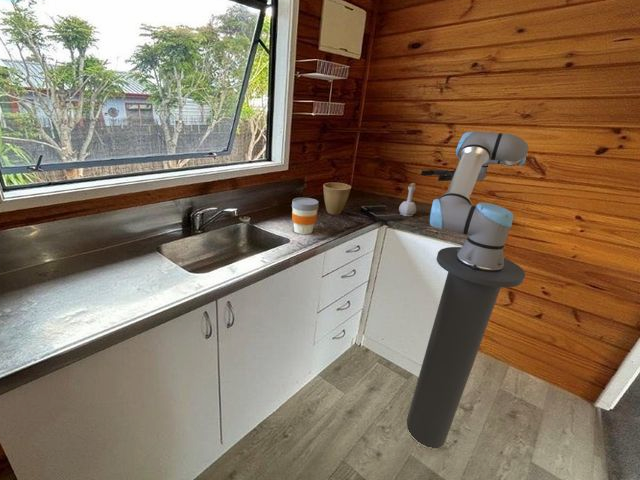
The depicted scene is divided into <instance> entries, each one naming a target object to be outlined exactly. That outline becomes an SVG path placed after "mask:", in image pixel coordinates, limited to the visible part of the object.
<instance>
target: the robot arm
mask: <svg viewBox="0 0 640 480" xmlns="http://www.w3.org/2000/svg"><path fill="white" fill-rule="evenodd" d="M528 152H529V145H528V142H526V140H524V139H523V138H521V137H520V136H517V135H515V134H511V133H506V132H500V133H499V132H488V131H467V132H465V133H463V135H462V136H461V137H460V139H459V141H458V144H457V147H456V150H455V155H456V157H457V158H458V160H459V161H458V164H457V166H456V168H455V169H454V170H449V169H445V170H443V169H429V170H428V169H427V170H423V169H422V170H421V172H420V176H430V177H431V176H438V177H437V181H438V182H448V181H449V182H450V183H449V185H448V188H447V190H446V192H445V193H443V194H442V195H440V196H439V198H435V199H433V201H432V204H431V209H430V214H429V225H430V226H431V227H432V228H436V229H439V230H444V231H448V232H453V233H457V234H462V235H466V236H467V239H466V241H465V243H464V244H463V245H462V246H461V247H462V248H461V249H457V251H459V252H458V253H457V257H456V258H457V260H458V261H459V262H460V263H462V264H464V265H466V266H468V267H470V268H472V269H473V270H475V269H477V270H481V271H486V272H499V271H501V270H502V269H503V266H504V258H505V257H504V247H505V244H506V241H507V238H508V236H509V232H510V230H511V227H512V226H513V220H514V213H513V212H512V211H510V210H509V209H507V208H506V207H503V206H499V205H496V204H494V203H488V202H479V203H477V204H476V205H472V201H471V199H470V198H471V196H472V193H473V190H474V187H475V185H476V183H477V182H482V181H481V180H483V179H484V178H485V177H486V172H487V167H488V164H490V165H494V164H501V165H500V166H504V165H508V166H507V167H512V166H515V165H518V166H519V165H523V164H524V163H525V164H526V162H525V161H527V159H526V157H525V156H526V154H528ZM503 164H504V165H503Z"/></svg>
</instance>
